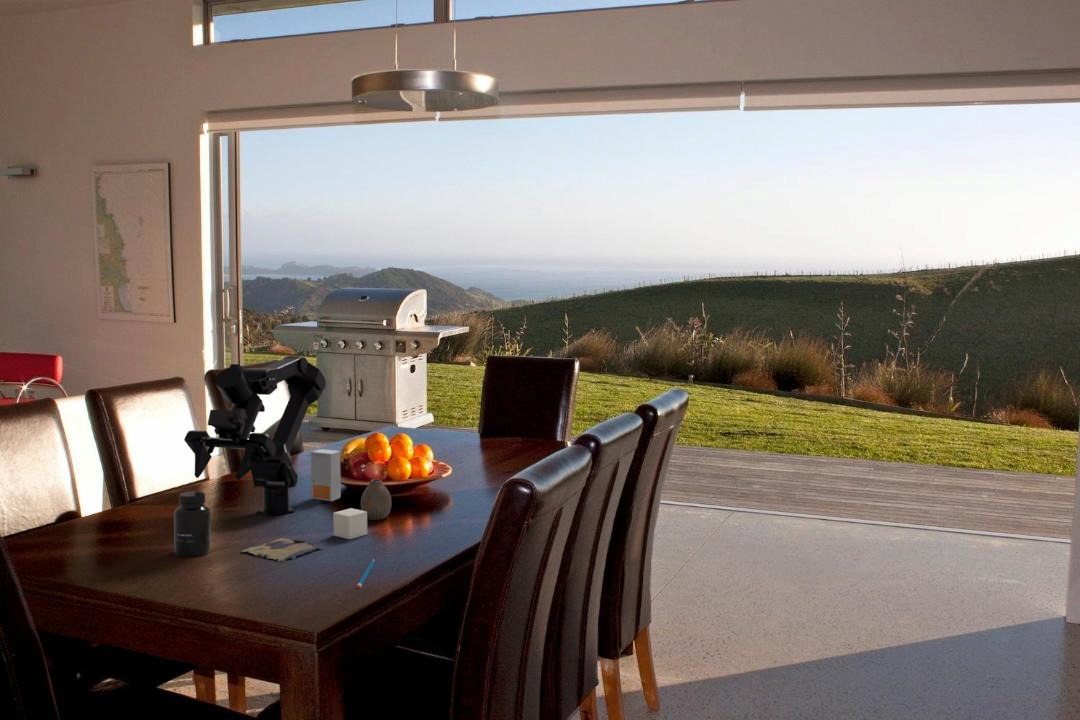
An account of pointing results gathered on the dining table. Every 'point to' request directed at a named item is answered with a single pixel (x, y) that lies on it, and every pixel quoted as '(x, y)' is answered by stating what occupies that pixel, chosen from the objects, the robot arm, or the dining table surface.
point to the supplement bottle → (192, 525)
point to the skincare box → (325, 475)
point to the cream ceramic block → (350, 523)
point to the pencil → (365, 573)
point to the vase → (376, 500)
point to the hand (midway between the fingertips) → (216, 477)
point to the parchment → (280, 553)
